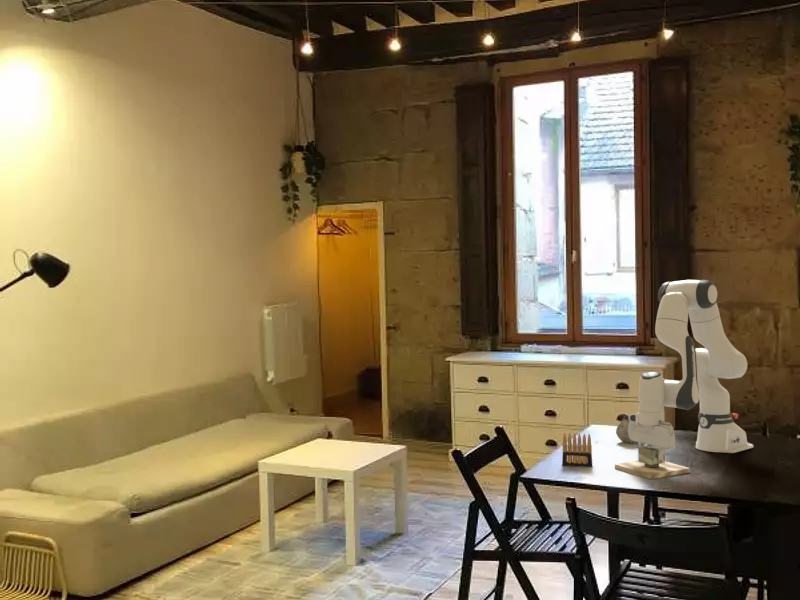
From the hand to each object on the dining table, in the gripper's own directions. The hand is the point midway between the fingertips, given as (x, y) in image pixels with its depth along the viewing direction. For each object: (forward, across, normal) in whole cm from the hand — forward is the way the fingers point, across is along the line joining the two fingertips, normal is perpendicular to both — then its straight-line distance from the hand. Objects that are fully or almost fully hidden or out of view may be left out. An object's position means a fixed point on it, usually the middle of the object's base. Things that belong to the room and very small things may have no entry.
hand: (651, 457), depth 308 cm
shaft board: (+5, 0, 0) cm, 5 cm away
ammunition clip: (+5, +19, +18) cm, 27 cm away
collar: (+2, 0, 0) cm, 2 cm away
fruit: (+5, +39, -24) cm, 46 cm away
